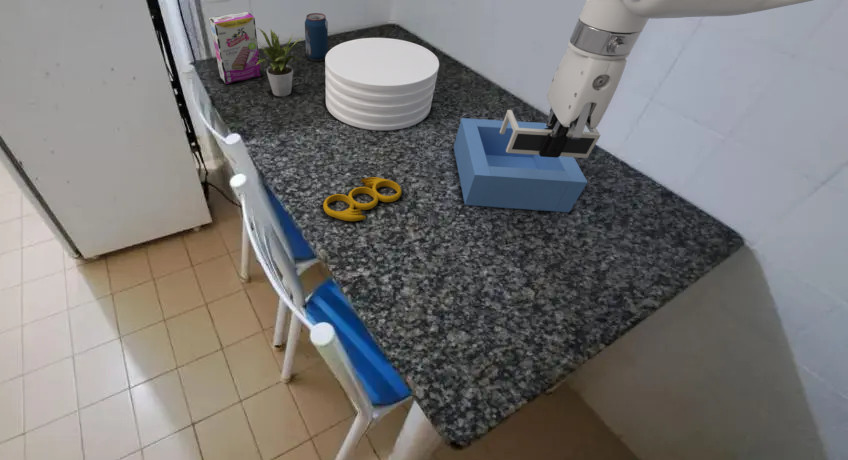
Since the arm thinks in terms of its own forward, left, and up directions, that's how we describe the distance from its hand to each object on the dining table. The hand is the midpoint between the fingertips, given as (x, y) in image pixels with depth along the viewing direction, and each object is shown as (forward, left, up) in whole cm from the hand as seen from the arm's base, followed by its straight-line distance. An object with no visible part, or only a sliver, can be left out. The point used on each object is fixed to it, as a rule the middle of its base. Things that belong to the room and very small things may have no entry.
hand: (547, 152), depth 65 cm
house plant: (+56, -43, -14) cm, 72 cm away
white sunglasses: (0, -3, 0) cm, 3 cm away
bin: (0, -11, -14) cm, 18 cm away
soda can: (+48, -67, -14) cm, 84 cm away
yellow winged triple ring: (+30, 0, -14) cm, 33 cm away
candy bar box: (+68, -50, -14) cm, 86 cm away
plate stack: (+28, -40, -14) cm, 51 cm away
